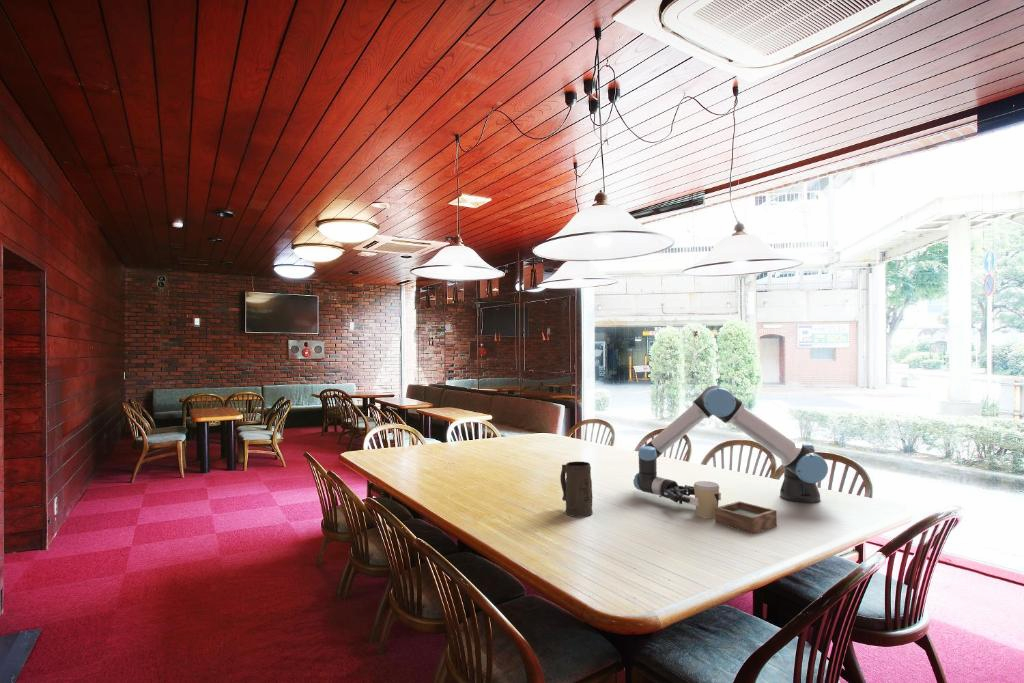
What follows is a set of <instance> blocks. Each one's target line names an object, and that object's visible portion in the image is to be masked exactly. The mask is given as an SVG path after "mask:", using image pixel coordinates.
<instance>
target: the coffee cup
mask: <svg viewBox="0 0 1024 683" xmlns="http://www.w3.org/2000/svg"><path fill="white" fill-rule="evenodd" d="M693 487H694V492H695V495H694V498H698V506H695V511H696V515H697V516H698V517H700V516H701V518H703V517H706V518H705V519H715V518H714V517H715V508H716V507H719V501H720V500H719V493H720V486H719V484H718V483H716V482H713V481H705V480H703V481H701V480H700V481H696V482H694V484H693Z"/></svg>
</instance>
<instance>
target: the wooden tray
mask: <svg viewBox="0 0 1024 683" xmlns="http://www.w3.org/2000/svg"><path fill="white" fill-rule="evenodd" d="M714 521H715V524H718V523H719V524H718V525H721V524H722V525H721V526H724V525H725V527H728V526H729V528H731V527H732V529H734V528H735V529H736V530H738V529H739V530H738V531H741V530H742V531H741V532H744V531H745V532H744V533H748V532H749V534H751V533H752V534H751V535H754V534H757V533H760V532H763V531H766V530H768V528H769V529H771V527H772V528H774V526H775V527H777V524H778V523H777V522H778V519H777V510H776V509H771V508H768V507H764V506H759V505H755V504H751V503H748V502H744V501H740V500H739V501H735V502H732V503H729V504H728V503H727V504H725V505H721V506H718V507H716V508H715V518H714ZM735 529H734V530H735ZM765 529H766V530H765ZM762 530H763V531H762ZM759 531H760V532H759ZM756 532H757V533H756ZM753 533H754V534H753Z"/></svg>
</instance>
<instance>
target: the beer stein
mask: <svg viewBox="0 0 1024 683" xmlns="http://www.w3.org/2000/svg"><path fill="white" fill-rule="evenodd" d="M591 469H592V468H591V464H590V462H587V461H569V462H567V463H566V464H561V473H560V477H559V480H560V485H561V490H562V494H563V496H562V498H561V499H562V502H565V511H564V512H566V513H567V514H569V515H573V516H587V517H590V516H591V514H593V511H594V510H593V481H592V480H593V479H592V473H591ZM566 513H565V514H566ZM567 514H566V515H567ZM569 515H568V516H569ZM589 515H590V516H589ZM573 516H572V517H573Z"/></svg>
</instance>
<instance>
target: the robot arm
mask: <svg viewBox="0 0 1024 683" xmlns="http://www.w3.org/2000/svg"><path fill="white" fill-rule="evenodd" d="M712 416H715V417H716V418H717V419H719V420H720V421H722V422H723V423H724V424H731V425H733V426H734V427H736V428H737V429H738V430H740V431H742V433H744V434H745V435H747V436H748V437H749V438H750V439H752V440H754V441H755V442H756V443H758V444H759V445H760V446H762V447H763V448H765V449H766V450H767V451H769V452H770V453H772V454H773V455H774V456H775V457H777V458H778V459H780V462H781V465H782V466H783V476H784V477H783V481H782V484H781V487H780V490H779V496H780V498H782V499H784V500H787V501H790V500H791V502H797V503H819V502H821V493H820V490H819V488H818V486H817V484H818V483H821V482H822V481H823V480H825V478H826V476H827V475H828V471H829V466H828V464H827V462H826V460H825V459H824V458H823V457H822V456H821V455H819V454H818V453H816V452H815V450H816V449H815V447H814V445H812V444H808V443H806V444H804V443H801V442H794V441H792V440H791V439H790V438H788V437H787V436H786V435H784V434H782V433H781V432H780V431H778V430H777V429H775V428H774V427H773V426H771V425H770V424H768V423H767V422H766V421H765V420H763V419H762V418H760V417H759V416H758V415H756V414H755V413H753V412H752V411H751V410H749V409H748V408H746V407H745V405H744V401H743V400H741V399H740V398H739V397H737V396H736V395H735V394H733V393H732V392H731V391H730V390H728V388H725V387H722V386H719V385H711V386H708V387H707V388H706V389H704V390H703V391H702V392H701V394H700V395H699V396H698V397H696V399H694V400H693V401H692V405H691V406H689V407H688V408H687V409H686V410H685V411H684V412H683V413H682V414H680V415H679V416H678V417H677V418H676V419H675V420H673V421H672V422H671V423H670V424H669V425H668V426H667V427H665V428H664V429H662V431H661V432H659V433H658V434H657V435H656V436H655V437H653V438H652V439H651V440H650V441H649V442H648V443H647V444H645V445H643V446H640V447H639V448H638V454H637V455H638V472H637V473H636V474H635V475H634V478H633V486H634V487H635V489H636V490H638V491H641V492H643V493H648V494H652V495H654V496H659V498H665V499H670V500H671V501H673V502H674V503H679V505H683V503H685V504H689V505H692V506H695V507H696V506H698V498H695V492H694V485H693V486H692V485H687V484H685V485H679V484H678V483H677V481H675V480H672V479H668V478H665V477H661V476H657V475H658V474H657V473H658V470H657V469H658V468H657V459H658V458H660V456H662V455H663V453H665V452H666V451H668V449H670V448H671V447H672V446H673V445H675V444H676V443H677V442H678V441H679V440H681V439H682V438H684V436H686V435H687V434H688V433H689V432H690V431H691V430H692V429H694V428H695V427H696V426H698V425H699V424H700V423H701V422H702V421H703V420H705V419H710V418H711V417H712ZM721 500H722V493H721V492H719V501H721Z"/></svg>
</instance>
